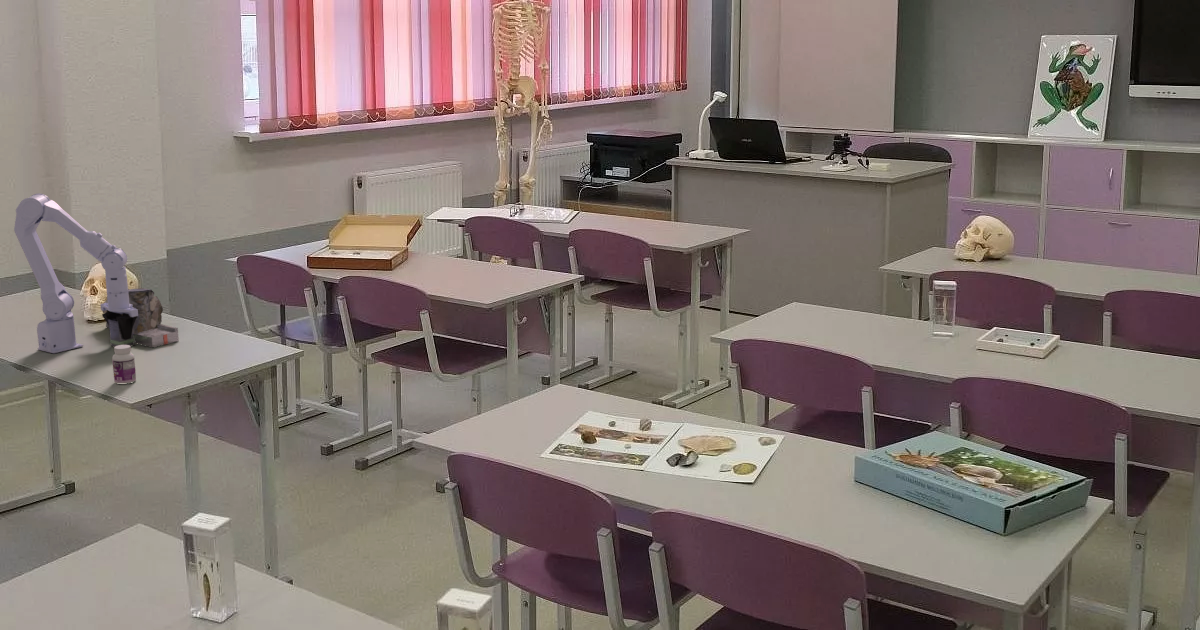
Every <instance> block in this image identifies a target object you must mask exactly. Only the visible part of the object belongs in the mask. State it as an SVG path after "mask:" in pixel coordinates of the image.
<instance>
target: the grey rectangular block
mask: <svg viewBox="0 0 1200 630" xmlns="http://www.w3.org/2000/svg"><path fill="white" fill-rule="evenodd" d="M108 321H109V328H108V329H109V338H110V339H109V343H110V346H111V347H112V346H114V347H115V346H118V345H130V346H131V345H133V346H135V338H134V335H133V330H132V335H131V338H130V339H126V340H124V339H123V337H122V332H121V327H120V324H119V322H118V320H117V318H112V319H108ZM114 347H113V348H114ZM131 347H132V346H131Z"/></svg>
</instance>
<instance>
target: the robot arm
mask: <svg viewBox="0 0 1200 630" xmlns="http://www.w3.org/2000/svg"><path fill="white" fill-rule="evenodd" d="M41 221H43V222H51V223H56V224H57V225H59V227H62V228H63V230H65V231H67V232H68V233H70V234H71V235H72V236H74V237H75V238H76V239H78V241H79V245H80V247H81V249H83V250H84V251H86V252H87V253H88V254H90V255H91V256H92V257H93V258H95V259H96V260H97V261H99V262H100V264H101V267H102V269H104V273H105V286H106V287H105V288H106V300H108V303H104V302H103V303H100V311H102V312H103V311H105V310H106V311H107V312H106V313H102V315H101V317H102V318H103V319H104V321H105V323H106V322H107V324H108V326H109V321H108V319H112V318H117V320H118V322H119V324H120V327H121V332H122V337H123V339H124V340H126V339H130V338H131V335H132V329H133V325H134V323H135V320H136V319H137V316H138V309H135V308H133V305H132V304H129V294H128V289H129V284H128V283H129V282H128V276H127V267H126V265H127V262H128V256H127V254H126V252H125V251H124V250H123V249H122V248H119V247H117V245H115V244H111V243H110V242H109V241H107V240H106V239H105V238H104V237H103V235H104V234H102V233H101V232H96V230H90V231H89V230H87V229H86V228H85V227H84V226H82V225H81V224H80V223H79V222H78V221H77V220H76V219H75V218H73V216H71V215H70V214H69V213H68V212H67V211H66V210H64V209H63V208H62V207H61V206H60V205H59V204H58V203H57V202H56V201H54V200H53V199H50V198H49V196H47V195H46V194H43V193H34V194H32V195H30V196H29V197H26V198H23V199H22V200H21V201H20V202H19V204H18V206H17V207H16V209H15V221H14V226H13V227H14V228H13V231H14V233H15V236H16V238H17V241H18V242H19V245H20V247H21V249H22V251H23V253H24V256H25V258H26V259H27V262H28V264H29V267H30V268H31V270H32V273H33V275H34V277H35V279H36V282H37V284H38V287H39V288H40V300H41V301H42V313H43V314H44V315H45V320H43V321H40V322H39V323H37V327H36V331H37V332H36V333H37V342H38V347H37V350H38V351H41V352H42V351H43V352H46V353H49V354H50V353H51V354H57V353H61V352H62V353H63V352H65V351H70V350H73V349H78V348H83V346H84V344H83V343H77V335H76V330H75V329H76V325H75V318H74V314H73V312H72V310H73V308H74V306H75V300H74V297H73V296H72V295H71V294H70V293H69V292H68V291H67V289H66V287H65V285H63V284H62V283H61V282H60V281H59V279H58V277H57V275H56V273H55V269H54V267H53V265H52V263H51V261H50V259H49V257H48V254H47V252H46V250H45V248H44V245H43V243H42V241H41V239H40V236H39V235H38V232H37V229H38V227H39V225H40V223H41ZM122 314H123V316H122Z"/></svg>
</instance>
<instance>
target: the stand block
mask: <svg viewBox="0 0 1200 630" xmlns="http://www.w3.org/2000/svg"><path fill="white" fill-rule="evenodd" d="M157 326H158V328H156V329H152V330H147V331H143V332H139V333H135V334H134V335H133V337H134V344H135V343H138V344H137V345H139V344H142V345H141V346H143V345H146V346H145V347H147V346H150V347H149V348H152V347H154V348H157V346H158V347H161V346H165V345H169V344H173V343H177V342H179V340H180V338H179V327H175V326H170V325H166V324H162V323H161V324H158V325H157ZM160 345H161V346H160Z"/></svg>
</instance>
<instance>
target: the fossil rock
mask: <svg viewBox="0 0 1200 630" xmlns="http://www.w3.org/2000/svg"><path fill="white" fill-rule="evenodd" d="M128 294H129V304H132V305H133V308H135V309H138V316H137V319H136V320H135V323H134V325H133V329H132V330H133V336H134V334H135V333H139V332H143V331H147V330H152V329H156V328H158V326H157V325H158V324H162V317H163V316H162V313H163V311H164V307H163V305H162V303H161V301H160V299H159V298H158V296H154V295H155V291H153V290H152V289H151V288H150V289H149V288H144V287H139V288H132V289H131V288H130V289H129V288H128ZM103 303H108V300H107V299H105V301H104V302H103ZM106 312H107V311H106V310H105V311H102V314H104V313H106ZM122 316H123V314H122ZM106 327H107V328H106ZM105 328H106V329H109V326H108V324H107V322H106V321H105Z"/></svg>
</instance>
